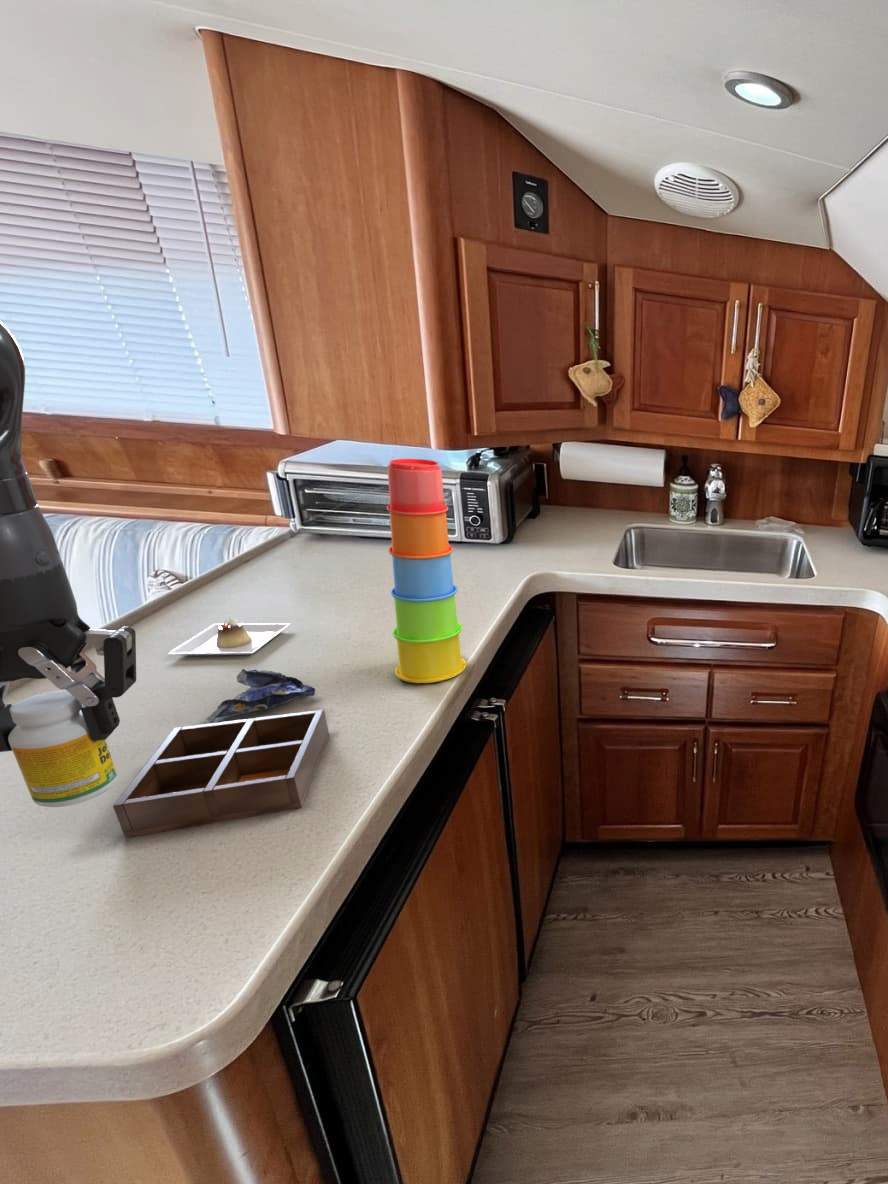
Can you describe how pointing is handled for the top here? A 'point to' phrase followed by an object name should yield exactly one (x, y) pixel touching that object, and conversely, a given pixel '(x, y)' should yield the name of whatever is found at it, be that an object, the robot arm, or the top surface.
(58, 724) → the supplement bottle
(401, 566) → the stacking cups
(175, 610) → the top surface
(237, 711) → the snack package
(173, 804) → the compartment tray
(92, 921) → the top surface
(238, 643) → the dessert
